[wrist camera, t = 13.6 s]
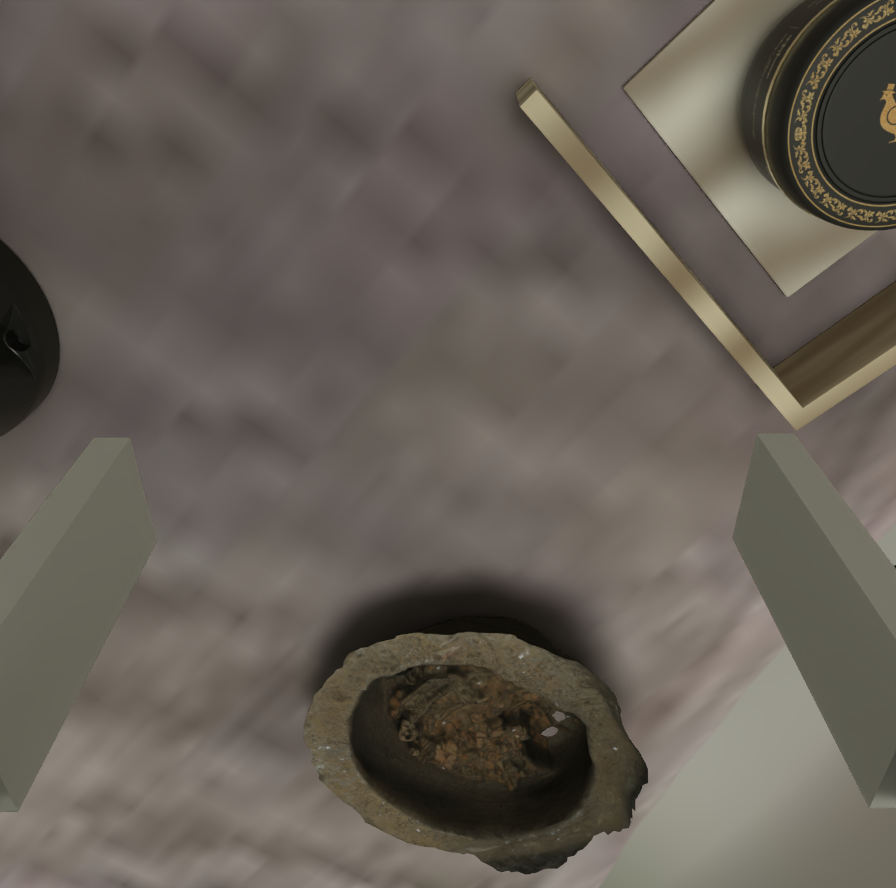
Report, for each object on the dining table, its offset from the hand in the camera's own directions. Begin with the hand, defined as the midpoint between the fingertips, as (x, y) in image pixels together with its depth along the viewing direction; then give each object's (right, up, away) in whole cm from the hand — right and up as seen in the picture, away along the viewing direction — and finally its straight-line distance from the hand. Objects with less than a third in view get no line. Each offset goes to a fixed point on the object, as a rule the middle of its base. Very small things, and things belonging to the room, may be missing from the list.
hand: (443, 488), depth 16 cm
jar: (+19, +18, +21) cm, 34 cm away
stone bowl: (+2, -18, +45) cm, 49 cm away
